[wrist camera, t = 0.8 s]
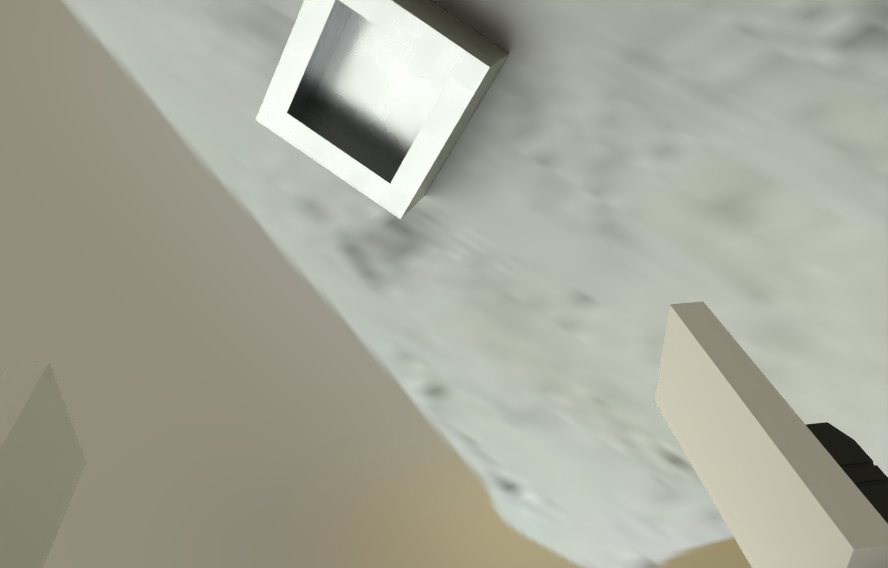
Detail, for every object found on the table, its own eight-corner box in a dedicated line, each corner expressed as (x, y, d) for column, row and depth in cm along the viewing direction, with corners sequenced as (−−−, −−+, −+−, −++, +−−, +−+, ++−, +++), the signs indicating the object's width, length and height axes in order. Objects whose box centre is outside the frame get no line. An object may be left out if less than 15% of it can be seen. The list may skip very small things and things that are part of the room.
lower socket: (356, -50, 39) (323, -47, 36) (509, 53, 39) (489, 67, 36) (290, 104, 45) (255, 119, 41) (424, 195, 44) (400, 219, 41)
